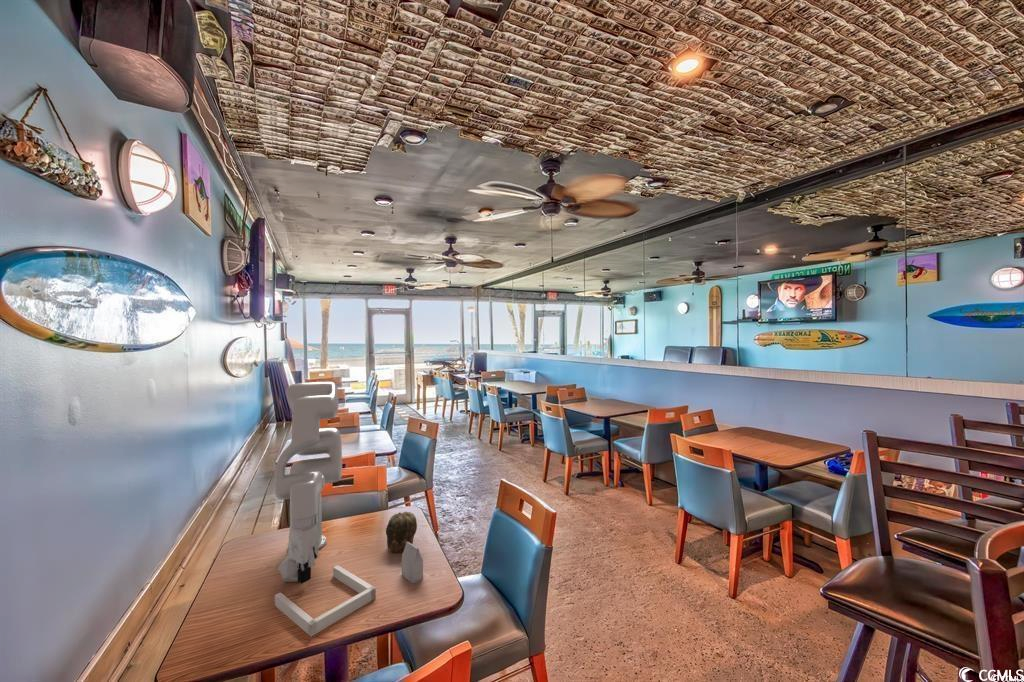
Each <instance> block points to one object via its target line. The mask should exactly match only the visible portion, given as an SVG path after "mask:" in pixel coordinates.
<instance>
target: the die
mask: <svg viewBox="0 0 1024 682" xmlns="http://www.w3.org/2000/svg"><path fill="white" fill-rule="evenodd" d="M277 570H278V572H279V574H280V576H281V577H282V580H283V582H284V583H290V582H291V583H293V582H298V568H297V561H295V560H293V559H292V558H290V557H289V555H288V554H287V555H286V556H285V558H284V559H283V560H282V561H281V562H280V564H279V565H278V567H277Z"/></svg>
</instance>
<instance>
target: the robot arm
mask: <svg viewBox="0 0 1024 682" xmlns="http://www.w3.org/2000/svg"><path fill="white" fill-rule="evenodd" d="M285 391H286V393H285V394H286V400H287V403H288V405H289V408H290V410H291V412H292V413H291V415H292V417H291V441H290V443H289V445H287V447H286V448H285V449H284V450H283V451H282V452H281V454H280V456H279V457H278V459H277V462H276V463H275V468H274V482H273V483H274V484H273V485H274V486H273V487H274V489H273V492H274V495H275V497H276V499H278V500H283V501H284V500H289V533H288V543H287V544H288V545H287V548H288V549H287V555H289V557H290V558H292V559H293V560H295V561H297V568H298V581H297V583H298V584H300V585H301V584H304V583H306V582H309V581H310V580H311V578H312V577H311V576H312V569H311V568H312V567H313V566H316V559H318V557H319V549H321V548H323V547H324V546H325V545H326V543H327V537H326V536H325V535H323V530H322V529H323V523H322V522H323V521H322V519H323V517H322V515H323V513H322V512H323V511H322V509H323V507H322V500H323V499H322V493H321V492H322V490H323V489H324V487H325V485H326V484H331V483H332V484H333V483H337V482H338V481H340V480H341V478H342V474H343V455H342V454H343V453H342V452H343V451H342V447H343V446H342V435H341V431H340V430H339V429H338V428H337V427H326V428H325V427H323V428H321V424H320V423H321V420H327V419H333V418H334V419H335V418H336V417H337V415H338V412H339V388H338V385H337V384H336V383H335V382H333V381H317V382H297V383H294V384H290V385H289V386H288V387H287V388H286V390H285ZM323 454H324V455H325V454H326V455H328V456H326V457H317V458H315V457H314V458H308V459H302V460H301V459H300V460H298V461H295V462H294V463H293V464H292V465H291V467H290V468H289V473H288V474H285V472H286V467H287V464H288V463H289V461H290V460H291V459H292V458H293V457H294V456H295V455H297V456H298V455H299V456H303V457H304V456H314V455H315V456H317V455H323Z"/></svg>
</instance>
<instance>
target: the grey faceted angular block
mask: <svg viewBox="0 0 1024 682" xmlns="http://www.w3.org/2000/svg"><path fill="white" fill-rule="evenodd" d="M401 575H402V576H403V577H404V578H405V579H406V580H407V581H409V582H410V583H412V584H414V583H417V582H418V581H421V580H423V579H424V559H423V557H422V555H421V553H420V548H418V547H416V546H415V545H414V544H411V543H409V542H408V541H407V542H406V546H405V549H404V551H403V552H402V555H401Z"/></svg>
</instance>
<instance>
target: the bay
mask: <svg viewBox="0 0 1024 682" xmlns="http://www.w3.org/2000/svg"><path fill="white" fill-rule="evenodd" d="M332 574H333V575H332V576H333V578H335V579H336V580H337V581H340V582H341V583H343V584H344V585H346V586H347V587H349V588H351V589H352V590H354V591H355V592H357V593H358V594H356V595H354V596H353V597H351V598H349V599H347V600H345V601H344V602H342V603H341V604H338V605H337V606H335V607H333V608H331V609H329V610H328V611H326V612H324V613H322V614H321V615H318V617H315V618H313V617H311V615H309V614H308V613H306V612H305V610H303V609H302V608H301V607H299V606H298V605H297V604H296V603H294V602H293V601H291V600H290V599H289V598H288V597H287V596H286V595H284V594H283V593H282V592H279V593H276V594H275V595H274V606H275V607H276V608H277V609H278V610H280V612H282V613H283V614H284V615H285V616H286V617H287V618H289V619H290V620H291V621H292V622H293V623H294V624H295V625H297V626H298V627H299V628H300V629H302V630H303V631H304V632H305V633H306V634H307V635H309V636H310V637H313V636H314V635H316V634H318V633H319V632H321V631H323V630H325V629H327V628H328V627H330V626H332V625H333V624H335V623H336V622H338V621H340V620H342V619H343V618H345V617H346V616H348V615H350V614H351V613H354V612H356V610H358V609H359V608H362V607H363V606H366V605H367V604H368V603H370V602H372V601H373V600H376V598H377V596H376V595H377V594H376V592H377V591H376V589H377V588H376V587H375V586H374V585H371V584H370V583H368V582H367V581H365V580H363V579H362V578H360V577H359V576H356V575H355V574H353V573H351V571H348V570H347V569H344V568H343V567H341V566H340V565H339V564H337V565H335V566H333V567H332Z"/></svg>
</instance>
